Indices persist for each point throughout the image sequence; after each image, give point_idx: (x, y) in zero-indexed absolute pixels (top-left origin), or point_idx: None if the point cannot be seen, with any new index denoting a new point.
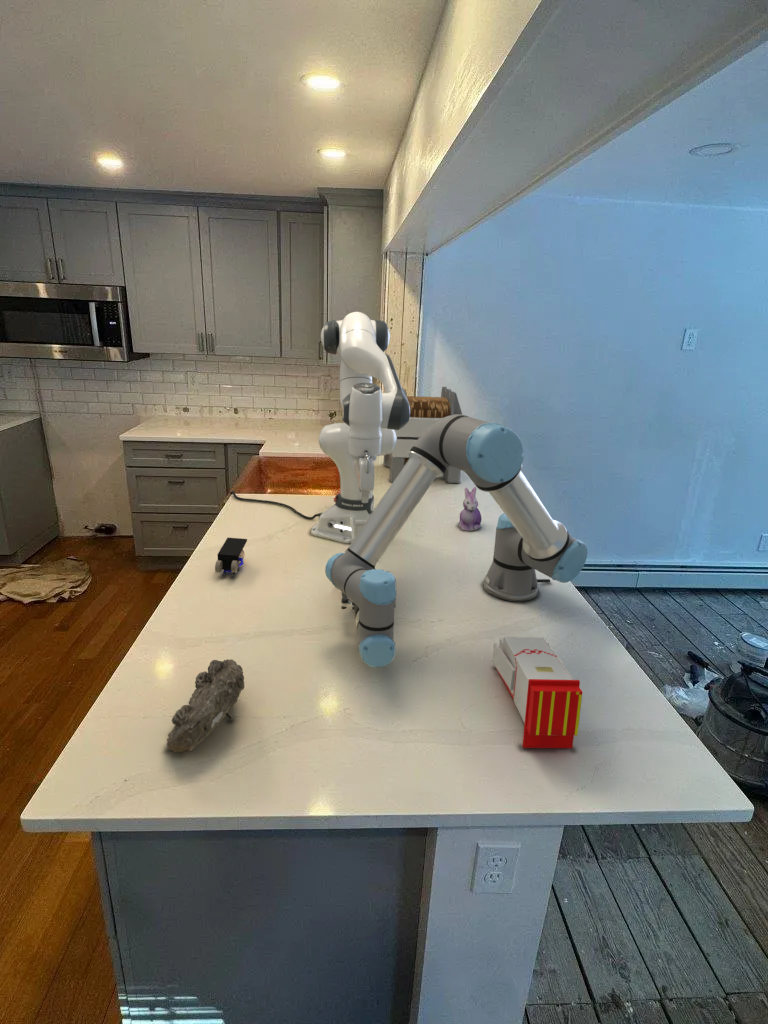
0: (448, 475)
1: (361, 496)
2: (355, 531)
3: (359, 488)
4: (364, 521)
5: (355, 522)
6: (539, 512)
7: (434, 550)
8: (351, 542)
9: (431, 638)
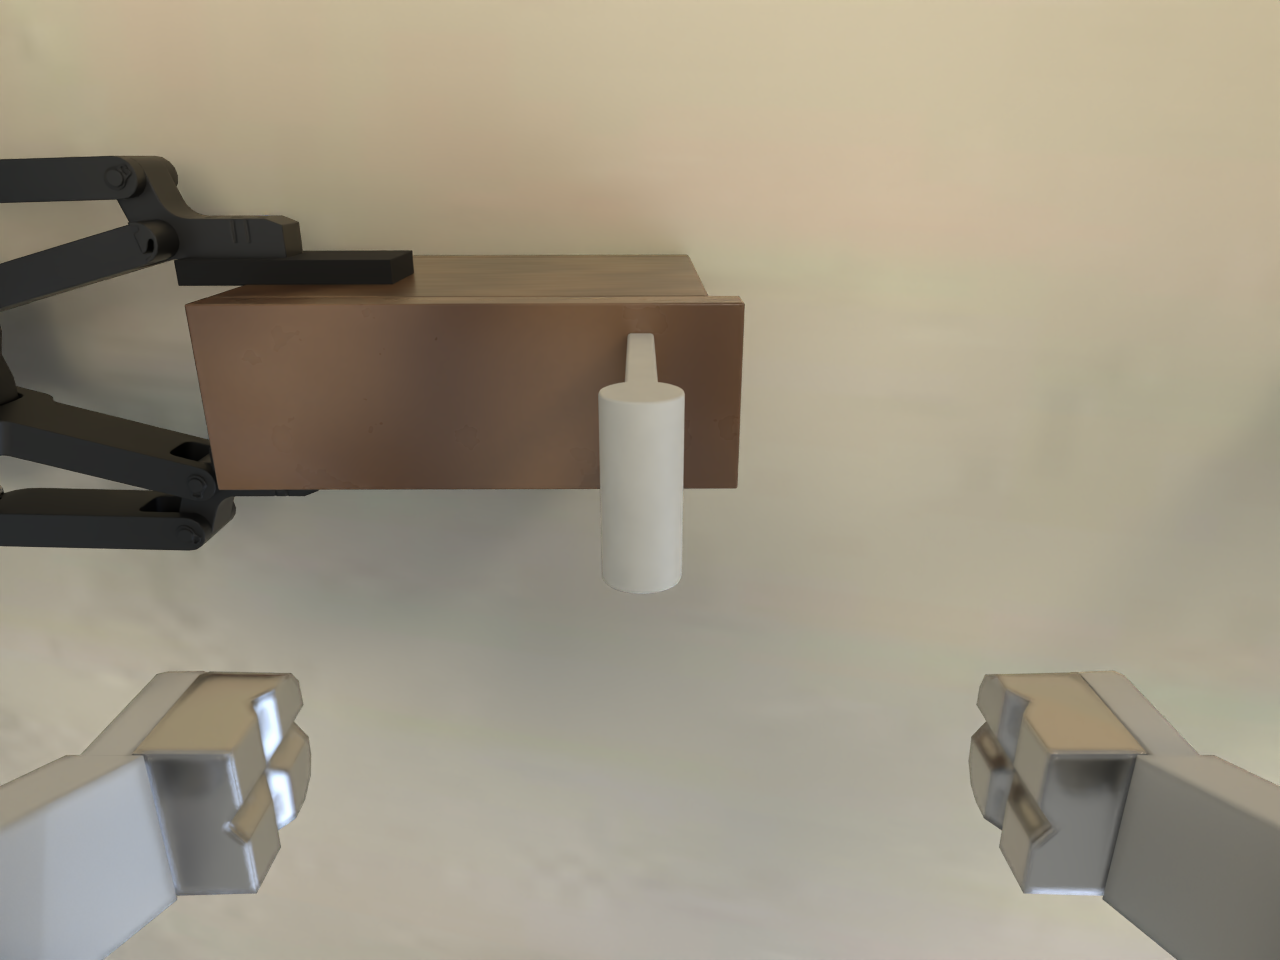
0: None
1: (171, 740)
2: (626, 371)
3: (1020, 718)
4: (611, 525)
5: (600, 400)
6: None
7: None
8: (736, 301)
9: (5, 646)
